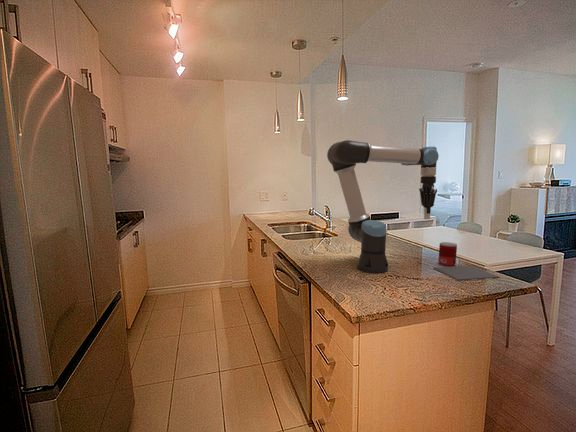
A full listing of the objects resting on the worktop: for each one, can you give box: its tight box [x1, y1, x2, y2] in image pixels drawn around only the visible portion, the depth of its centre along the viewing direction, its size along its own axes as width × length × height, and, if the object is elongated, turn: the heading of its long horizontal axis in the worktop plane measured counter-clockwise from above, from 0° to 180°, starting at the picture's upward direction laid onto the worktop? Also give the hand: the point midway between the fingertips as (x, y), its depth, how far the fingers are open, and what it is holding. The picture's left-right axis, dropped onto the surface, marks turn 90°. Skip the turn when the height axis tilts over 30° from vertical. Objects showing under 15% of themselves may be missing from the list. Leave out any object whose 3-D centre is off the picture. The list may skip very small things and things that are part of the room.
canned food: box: [438, 241, 458, 267], centre depth 166 cm, size 8×8×11 cm
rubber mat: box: [432, 265, 500, 282], centre depth 152 cm, size 21×18×1 cm
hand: (426, 219), depth 176 cm, fingers closed
